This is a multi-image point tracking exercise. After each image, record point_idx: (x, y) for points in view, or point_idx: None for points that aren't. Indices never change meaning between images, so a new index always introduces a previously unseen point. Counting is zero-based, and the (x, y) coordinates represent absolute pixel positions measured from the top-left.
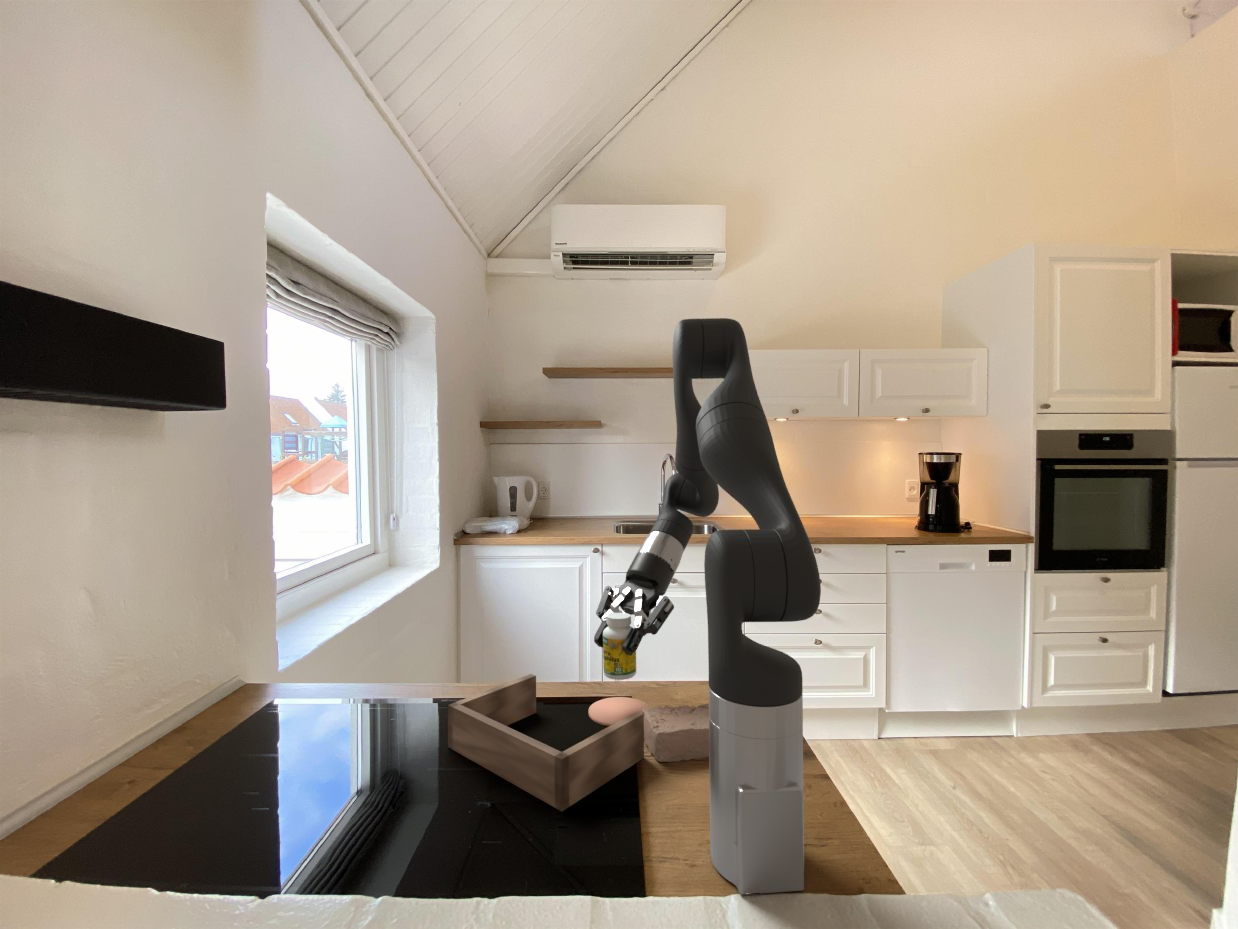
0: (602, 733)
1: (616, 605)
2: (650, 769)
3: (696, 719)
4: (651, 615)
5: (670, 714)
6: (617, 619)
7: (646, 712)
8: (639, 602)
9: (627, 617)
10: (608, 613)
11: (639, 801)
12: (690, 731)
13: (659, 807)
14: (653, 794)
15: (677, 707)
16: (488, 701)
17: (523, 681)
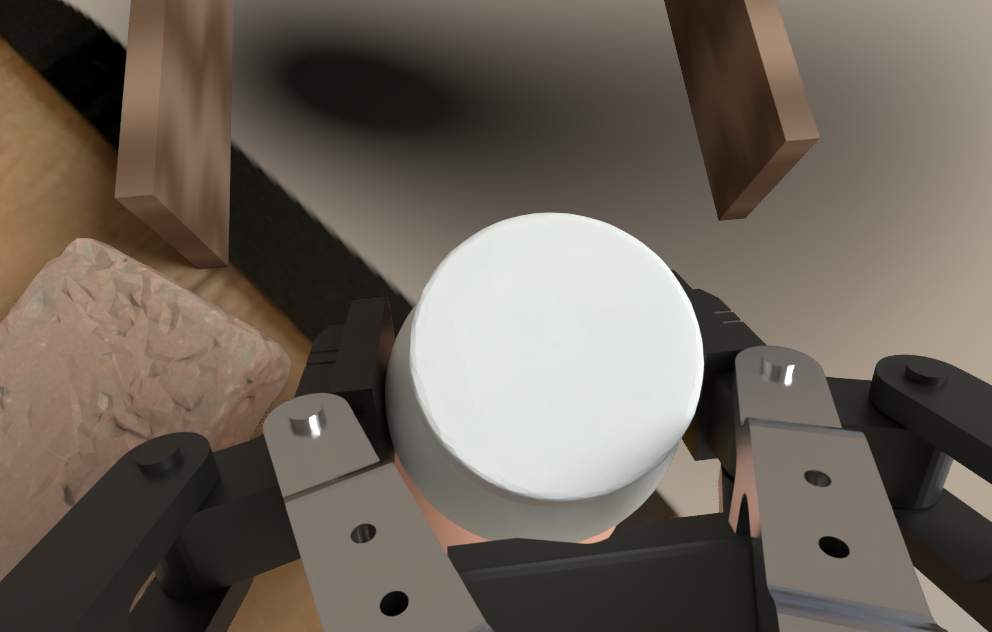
0: (146, 1)
1: (763, 451)
2: (142, 237)
3: (9, 448)
4: (114, 548)
5: (124, 391)
6: (461, 244)
7: (209, 316)
8: (367, 607)
9: (413, 356)
10: (787, 397)
11: (77, 113)
12: None
13: (17, 128)
14: (62, 156)
15: None
16: None
17: (765, 80)
